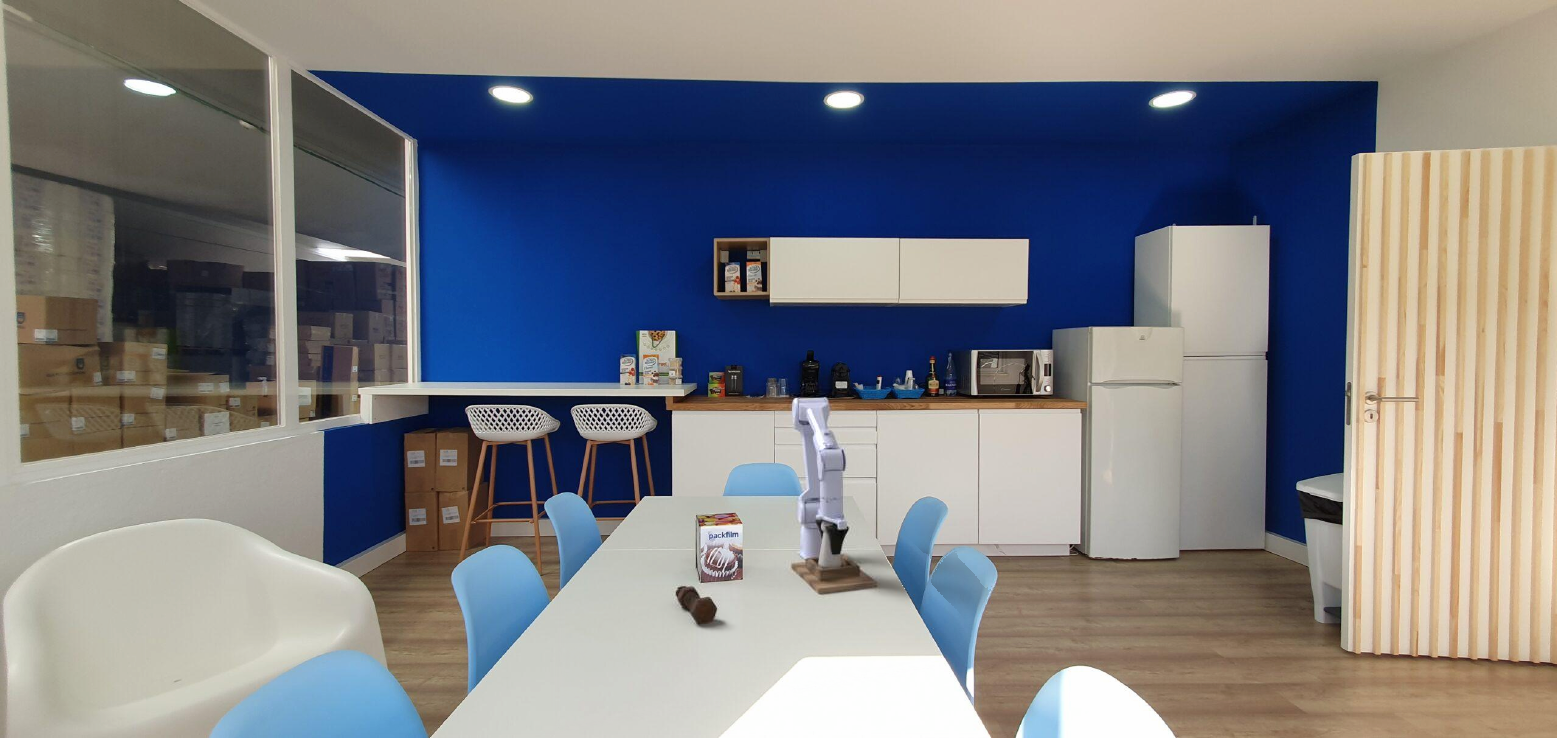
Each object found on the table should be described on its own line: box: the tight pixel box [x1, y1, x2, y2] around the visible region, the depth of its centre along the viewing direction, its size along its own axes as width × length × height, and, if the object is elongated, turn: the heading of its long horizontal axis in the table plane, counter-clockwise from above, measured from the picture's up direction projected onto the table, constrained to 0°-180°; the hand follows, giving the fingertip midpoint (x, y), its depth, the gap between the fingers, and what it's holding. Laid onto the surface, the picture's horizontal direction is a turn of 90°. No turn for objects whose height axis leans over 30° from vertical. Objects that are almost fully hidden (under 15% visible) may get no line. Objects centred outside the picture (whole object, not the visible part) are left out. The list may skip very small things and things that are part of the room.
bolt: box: [675, 585, 718, 625], centre depth 150 cm, size 6×5×15 cm
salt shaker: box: [818, 521, 842, 569], centre depth 171 cm, size 6×6×13 cm
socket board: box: [790, 553, 878, 595], centre depth 172 cm, size 20×15×4 cm
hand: (832, 551), depth 172 cm, fingers open, 5 cm apart
